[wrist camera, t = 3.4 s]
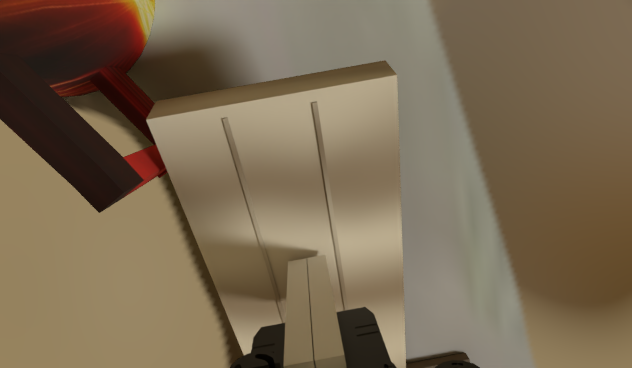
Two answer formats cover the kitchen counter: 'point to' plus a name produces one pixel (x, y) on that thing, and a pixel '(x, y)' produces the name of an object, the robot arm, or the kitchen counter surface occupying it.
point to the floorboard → (437, 361)
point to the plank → (293, 191)
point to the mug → (77, 88)
